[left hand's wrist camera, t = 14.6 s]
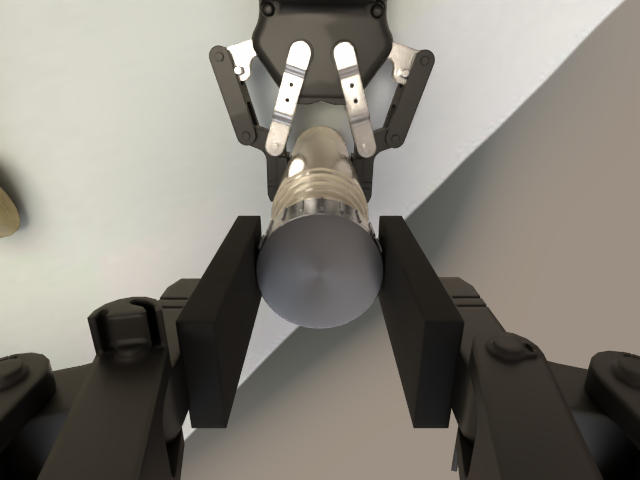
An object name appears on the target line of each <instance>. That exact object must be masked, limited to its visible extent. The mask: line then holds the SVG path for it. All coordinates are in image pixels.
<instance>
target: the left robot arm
mask: <svg viewBox="0 0 640 480" xmlns="http://www.w3.org/2000/svg"><path fill="white" fill-rule="evenodd" d="M261 239H262V236H261V218H260V216H238V217H237V219H236V221H235V222H234V224H233V226H232V227H231V229H230V231H229V233H228V234H227V236H226V238H225V239H224V241H223V243H222V244H221V246H220V248H219V249H218V251H217V253H216V254H215V256H214V258H213V259H212V261H211V263H210V264H209V266H208V268H207V269H206V271H205V273H204V275H203V276H202V278H201V279H180V280H179V281H177V282H175V283H174V284H172V285H171V286H169V287H168V288H167V289H166V290H165V292H164V293H163V295H162V296H161V297H160V300H158V301H157V300H156V299H152V298H148V297H130V298H124V299H119V300H116V301H113V302H110V303H107V304H105V305H103V306H101V307H100V308H98V309H96V310H95V311H94V312H93V313H92V314H91V315H90V316H89V317H88V322H89V327H90V331H91V335H92V339H93V343H94V347H95V351H96V356H95V359H94V361H93V363H90V364H86V365H82V366H77V367H72V368H67V369H62V370H57V371H52V368H51V365H50V361H49V359H48V358H46V357H45V356H44V355H43V354H37V353H23V354H15V355H10V356H9V357H8V356H6V357H3V358H0V480H180V477H181V469H182V460H183V452H184V438H183V432H182V425H183V423H184V420H185V417H186V415H187V412H188V410H189V414H190V420H191V427H192V428H226V427H227V423H228V419H229V416H230V412H231V408H232V405H233V401H234V397H235V394H236V390H237V386H238V382H239V379H240V375H241V371H242V367H243V364H244V360H245V356H246V353H247V349H248V345H249V341H250V338H251V334H252V330H253V327H254V323H255V319H256V315H257V312H258V308H259V304H260V300H261V297H262V295H261V293H260V290H259V288H258V284H257V280H256V261H257V257H258V253H259V250H258V247H259V244H260V242H261ZM378 240H379V243H380V246H381V249H382V252H383V253H382V258H383V263H384V278H383V283H382V287H381V290H380V292H379V294H378V296H379V300H380V304H381V308H382V311H383V315H384V319H385V323H386V327H387V330H388V334H389V338H390V341H391V345H392V349H393V353H394V356H395V360H396V364H397V367H398V371H399V375H400V378H401V382H402V386H403V390H404V394H405V397H406V401H407V405H408V408H409V412H410V416H411V420H412V423H413V427H414V428H448V427H449V420H450V414H451V408H452V410H453V413H454V415H455V418H456V420H457V423H458V425H459V426H458V432H457V438H456V444H455V450H454V456H453V462H452V469H451V470H452V471H457V467H458V468H459V476H460V480H640V356H637V355H634V354H633V355H632V354H630V353H625V352H616V351H605V352H599V353H597V354H596V355H594V356H593V357H592V358H591V361H590V365H589V368H588V370H587V369H582V368H577V367H572V366H567V365H562V364H557V363H553V362H550V361H547V360H546V358H545V356H544V354H543V353H542V351H541V350H540V349H539V348H538V346H537V345H535V344H534V343H532V342H531V341H529V340H528V339H526V338H524V337H521V336H519V335H516V334H514V333H509V332H506V331H505V330H504V328H503V327H502V325H501V324H500V323H499V321H498V320H497V319H496V317H495V316H494V315H493V313H492V312H491V311H490V309H489V308H488V307H486V304H485V302H484V301H483V300H482V299H481V298H480V296H479V294H478V293H477V292H476V290H475V289H474V287H473V286H472V285H470V284H468V283H467V282H465V281H464V280H462V279H461V278H459V277H438V276H437V275H436V273H435V271H434V270H433V268H432V266H431V264H430V263H429V261H428V259H427V258H426V256H425V254H424V253H423V251H422V249H421V248H420V246H419V244H418V243H417V241H416V239H415V238H414V236H413V234H412V233H411V231H410V229H409V228H408V226H407V224H406V222H405V221H404V219H403V217H402V216H380V218H379V236H378Z"/></svg>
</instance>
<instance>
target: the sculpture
mask: <svg viewBox="0 0 640 480" xmlns="http://www.w3.org/2000/svg"><path fill="white" fill-rule="evenodd" d="M19 225H20V218H19V214H18V211H17V208H16V207H15V205H14V203H13V202H12V200H11V199H10V198H9V196H8V195H7V194H6V193H5V192H4V191H3V189H2V188H1V187H0V237H1V238H2V237H7V236H11V235H12V234H14V233H15V232H16V231H17V230H18V228H19Z"/></svg>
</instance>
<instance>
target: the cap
mask: <svg viewBox="0 0 640 480" xmlns="http://www.w3.org/2000/svg"><path fill="white" fill-rule="evenodd" d="M258 250H259V253H258V257H257V261H256V280H257V284H258V288H259V290H260V293H261V295H262V297H263V298H264V300H265V301H266V303H267V304H268V305H269V306H270V308H271V309H272V310H273V311H274V312H276V313H277V314H278V315H279V316H281V317H282V318H284V319H286V320H287V321H289V322H292V323H294V324H296V325H300V326H303V327H308V328H319V329H321V328H331V327H337V326H340V325H343V324H346V323H348V322H351V321H352V320H354V319H356V318H358V317H359V316H360V315H362V314H363V313H364V312H365V311H366V310H367V309H368V308H369V307H370V306H371V305H372V304H373V302H374V301H375V299H376V298H377V296H378V294H379V292H380V290H381V287H382V283H383V278H384V263H383V258H382V253H383V252H382V249H381V246H380V243H379V240H378V238H376V237H375V233H374V230H373V227H372V225H371V223H370V222H369V223H368V221H367V220H366V219H365V218H364V217H363V216H362V215H361V214H360V213H359V210H358V209H356V210H355V209H354V208H352V207H351V206H349V205H347V204H344V203H342V201H341V200H340V201H336V200H331V199H323V197H320V198H318V199H309V200H304V199H302V200H301V202H298V203H295V204H293V205H291V206H289V207H288V208H286V207H285V208H284V209H283V211H282V212H281V213H280V214H278V215H277V216H276V218H275V219H274V220H271V221H270V224H269V227H268V229H267V231H266V233H265V235H263V236H262V239H261V242H260V244H259V247H258Z"/></svg>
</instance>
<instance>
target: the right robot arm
mask: <svg viewBox="0 0 640 480" xmlns="http://www.w3.org/2000/svg"><path fill="white" fill-rule="evenodd" d="M386 7H387V0H259V18H258V22H257V25H256V28H255V30H254V32H253V35H252V39H251V40H248V41H245V42H242V43H239V44H235V45H232V46H229V47H222V46H215V47H213V48H212V49H211V50H210V53H209V59H210V62H211V65H212V68H213V70H214V73H215V76H216V79H217V82H218V85H219V88H220V90H221V93H222V96H223V99H224V102H225V105H226V108H227V110H228V113H229V116H230V119H231V122H232V125H233V128H234V130H235V133H236V136H237V139H238V141H239V142H240V143H241V144H243V145H250V146H252V147H255V148H258V149H260V150H261V151H263V152H264V154H265V155H266V158H267V184H268V196H269V198H270V201H271V202H273V201H274V198H275V195H276V192H277V190H278V187H279V185H280V182H281V179H282V177H283V174H284V172H285V169H286V166H287V164H288V161H289V158H290V154H289V152H286V144H287V141H288V137H289V134H290V130H291V127H292V123H293V120H294V117H295V114H296V110H297V107H298V104H312V103H315V102H319V101H324V102H327V103H330V104H334V105H344V106H345V110H346V114H347V117H348V121H349V124H350V128H351V132H352V136H353V140H354V153H351V161H352V164H353V167H354V169H355V172H356V174H357V177H358V180H359V182H360V185H361V188H362V190H363V193H364V195H365V198H366V201H367V203H368V202H369V200H370V198H371V193H372V177H373V162H374V158H375V156H376V155H377V154H378V153H379V152H381V151H383V150H386V149H389V148H398V147H400V146H401V145H402V144H403V143H404V141H405V138H406V135H407V133H408V130H409V128H410V125H411V122H412V120H413V117H414V115H415V112H416V109H417V107H418V104H419V102H420V99H421V96H422V94H423V91H424V89H425V86H426V83H427V81H428V78H429V76H430V73H431V70H432V68H433V65H434V62H435V57H434V55H433V53H432V52H431V51H429V50H419V51H418V50H415V49H412V48H409V47H406V46H404V45H401V44H398V43H395V42H393V38H392V34H391V32H390V30H389V27H388V24H387V18H386ZM255 57H258V58H259V60H260V61H261V62H262V64H263V65H264V67H265V68H266V70H267V71H268V73H269V74H270V75H271V77H272V78H273V80H274V81H275V83H276V84H277V86H278V87H279V88H280V90H279V94H278V97H277V101H276V105H275V108H274V112H273V118H272V122H271V126H270V129H266V128H264V127H261V126H259V123H258V120H257V117H256V114H255V111H254V108H253V105H252V102H251V99H250V96H249V93H248V89H247V86H246V83H245V81H246V80H248V79H249V78H250V77H251V75H252V67H251V65H252V61H253V59H254V58H255ZM386 59H388V60H389V61H390V62H391V64H392V74H391V75H392V79H393V80H394V81H395V82H396V83H398V86H397V89H396V92H395V94H394V97H393V100H392V103H391V106H390V108H389V111H388V114H387V117H386V119H385V122H384V125H383V128H380V129H377V130H374V131H372V126H371V122H370V115H369V111H368V106H367V102H366V98H365V94H364V89H365V87H366V86H367V85H368V83H369V82H370V81H371V79H372V78H373V77H374V75H375V74H376V73H377V71H378V70H379V69H380V67H381V66H382V64H383V63H384V62H385V60H386Z"/></svg>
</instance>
